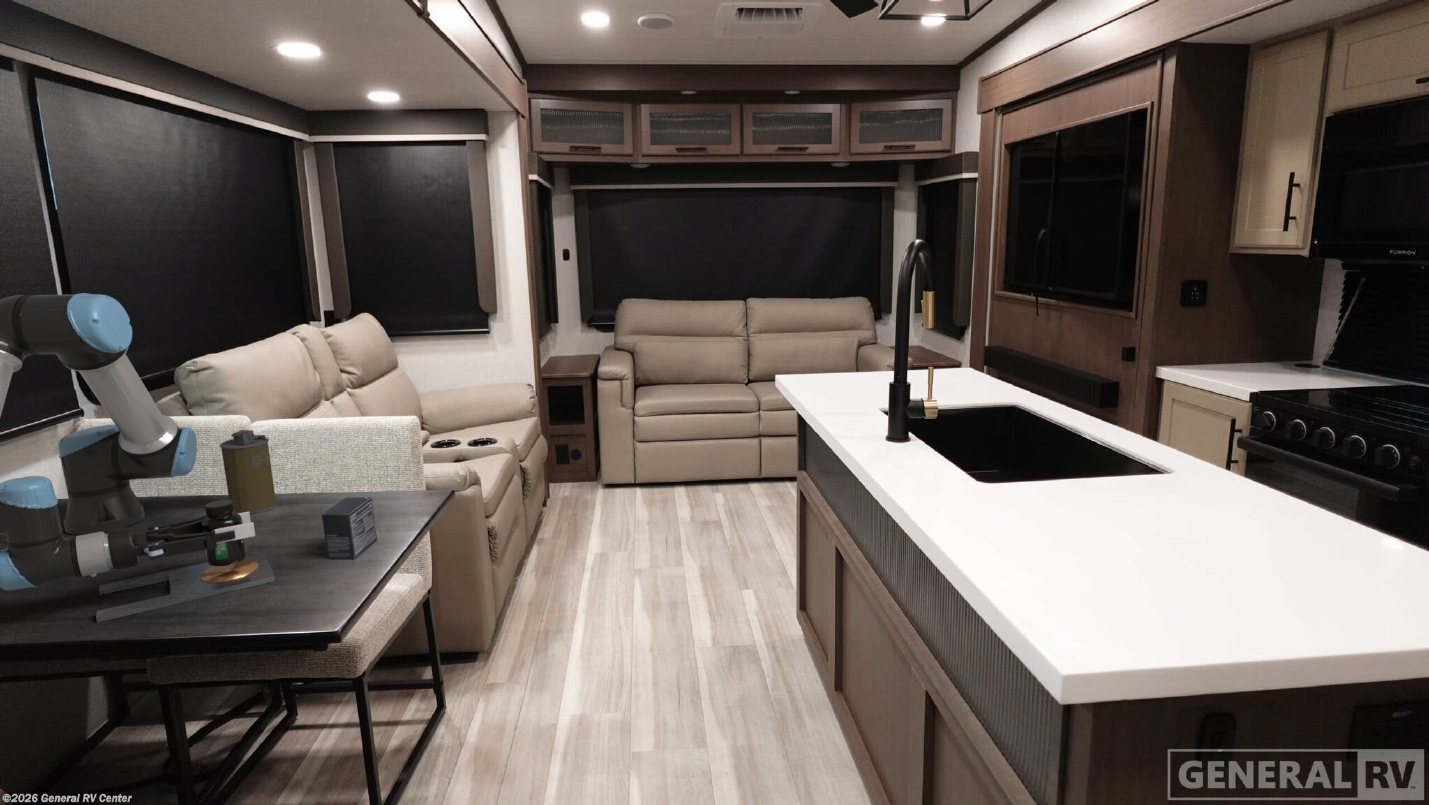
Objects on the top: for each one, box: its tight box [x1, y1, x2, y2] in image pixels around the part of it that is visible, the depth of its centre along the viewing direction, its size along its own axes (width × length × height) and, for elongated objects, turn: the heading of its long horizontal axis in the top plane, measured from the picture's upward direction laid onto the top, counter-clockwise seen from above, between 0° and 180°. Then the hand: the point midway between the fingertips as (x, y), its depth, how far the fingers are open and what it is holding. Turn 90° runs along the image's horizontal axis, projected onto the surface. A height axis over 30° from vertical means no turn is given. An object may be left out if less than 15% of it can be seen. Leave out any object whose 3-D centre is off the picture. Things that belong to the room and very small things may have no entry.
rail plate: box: [95, 550, 276, 623], centre depth 151 cm, size 28×16×1 cm, turn 126°
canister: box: [219, 429, 278, 515], centre depth 191 cm, size 11×10×20 cm
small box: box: [321, 496, 378, 560], centre depth 167 cm, size 11×6×10 cm, turn 178°
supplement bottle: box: [202, 499, 248, 566], centre depth 153 cm, size 7×7×12 cm
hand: (251, 523), depth 155 cm, fingers closed on supplement bottle, 7 cm apart
